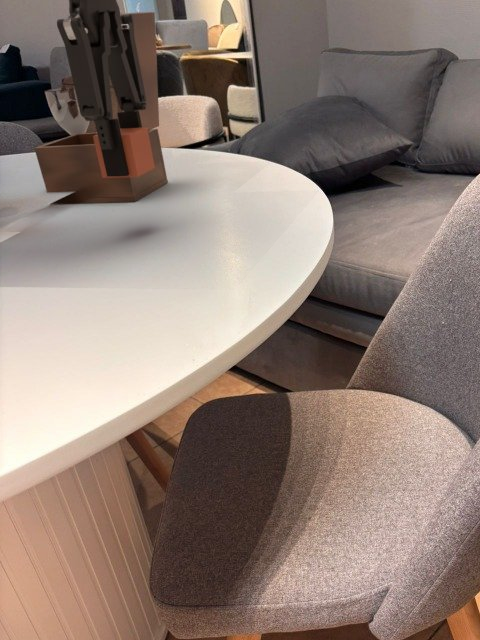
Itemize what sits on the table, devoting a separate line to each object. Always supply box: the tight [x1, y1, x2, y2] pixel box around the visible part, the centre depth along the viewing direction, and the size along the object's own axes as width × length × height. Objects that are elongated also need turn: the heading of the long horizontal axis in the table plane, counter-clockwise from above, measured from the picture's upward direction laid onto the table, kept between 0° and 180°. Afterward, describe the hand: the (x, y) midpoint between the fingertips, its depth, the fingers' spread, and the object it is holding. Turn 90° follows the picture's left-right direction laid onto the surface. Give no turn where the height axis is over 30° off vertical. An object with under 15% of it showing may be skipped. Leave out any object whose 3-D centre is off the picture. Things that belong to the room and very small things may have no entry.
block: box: [93, 127, 155, 178], centre depth 81 cm, size 5×5×5 cm
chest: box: [33, 128, 169, 205], centre depth 106 cm, size 16×13×9 cm
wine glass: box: [44, 86, 92, 136], centre depth 123 cm, size 8×8×15 cm
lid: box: [116, 11, 160, 130], centre depth 97 cm, size 16×13×1 cm
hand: (128, 170), depth 82 cm, fingers closed on block, 5 cm apart
